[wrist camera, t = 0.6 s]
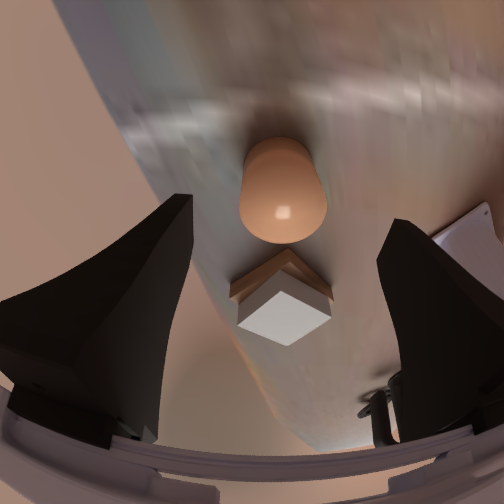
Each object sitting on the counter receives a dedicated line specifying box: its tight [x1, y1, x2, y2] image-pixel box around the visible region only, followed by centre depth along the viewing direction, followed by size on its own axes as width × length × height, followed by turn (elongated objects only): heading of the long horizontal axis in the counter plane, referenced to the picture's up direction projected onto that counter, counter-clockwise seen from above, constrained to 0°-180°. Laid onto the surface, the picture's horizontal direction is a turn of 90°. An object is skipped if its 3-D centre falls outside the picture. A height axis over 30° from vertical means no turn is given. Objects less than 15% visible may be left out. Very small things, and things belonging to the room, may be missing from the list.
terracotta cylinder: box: [239, 137, 327, 244], centre depth 17 cm, size 5×5×5 cm
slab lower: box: [229, 248, 334, 305], centre depth 26 cm, size 6×6×2 cm
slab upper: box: [237, 269, 332, 346], centre depth 25 cm, size 6×6×2 cm
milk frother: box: [357, 372, 403, 448], centre depth 37 cm, size 14×16×15 cm
